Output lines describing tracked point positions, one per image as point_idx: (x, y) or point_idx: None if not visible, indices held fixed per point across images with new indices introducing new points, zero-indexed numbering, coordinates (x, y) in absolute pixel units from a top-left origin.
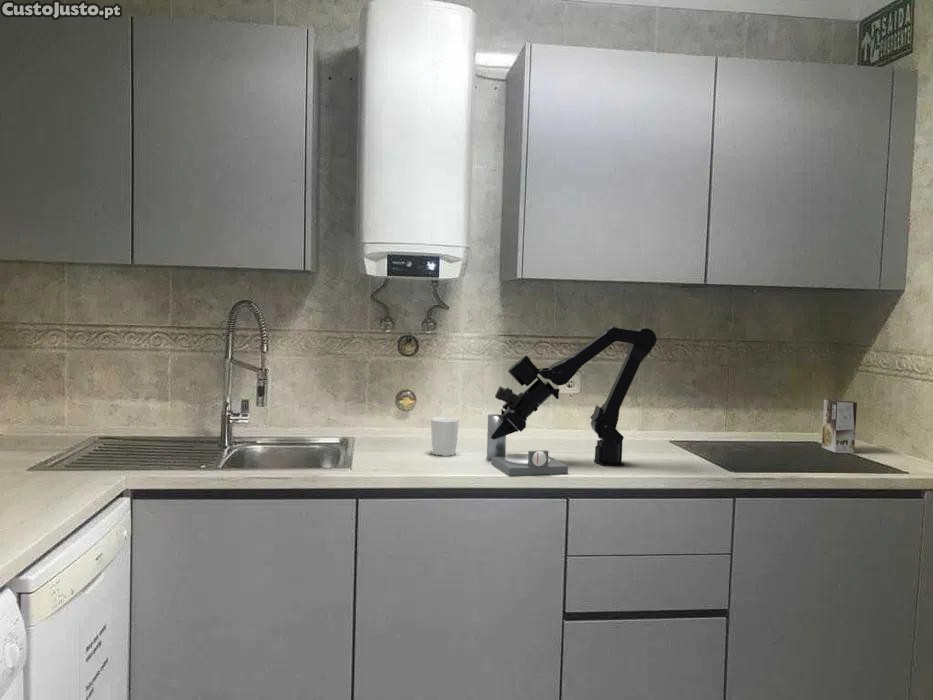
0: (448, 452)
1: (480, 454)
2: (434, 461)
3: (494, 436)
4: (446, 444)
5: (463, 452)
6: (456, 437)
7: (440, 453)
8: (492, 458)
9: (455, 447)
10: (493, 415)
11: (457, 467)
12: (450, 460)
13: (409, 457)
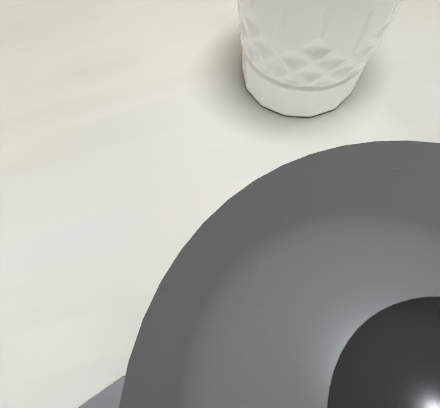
0: (258, 90)
1: None
2: (120, 92)
3: None
4: (250, 50)
5: (385, 132)
6: (326, 48)
7: (243, 67)
8: (108, 386)
9: (310, 92)
10: (396, 293)
11: (15, 214)
12: (166, 139)
13: (163, 3)
